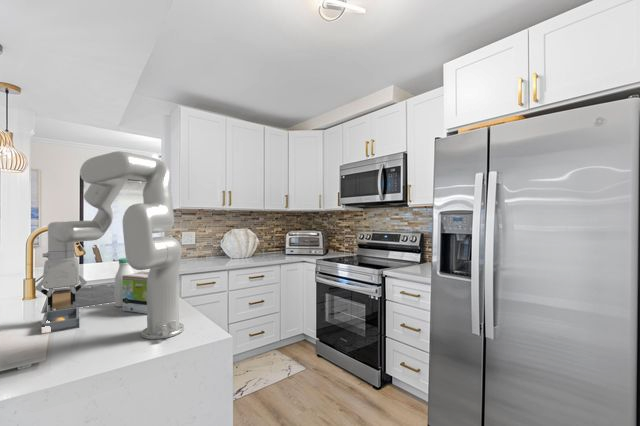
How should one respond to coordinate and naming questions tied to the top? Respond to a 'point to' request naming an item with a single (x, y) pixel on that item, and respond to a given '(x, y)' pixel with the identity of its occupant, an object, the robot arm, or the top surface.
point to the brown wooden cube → (61, 299)
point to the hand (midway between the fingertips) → (61, 304)
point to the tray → (69, 322)
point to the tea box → (135, 292)
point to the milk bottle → (122, 271)
